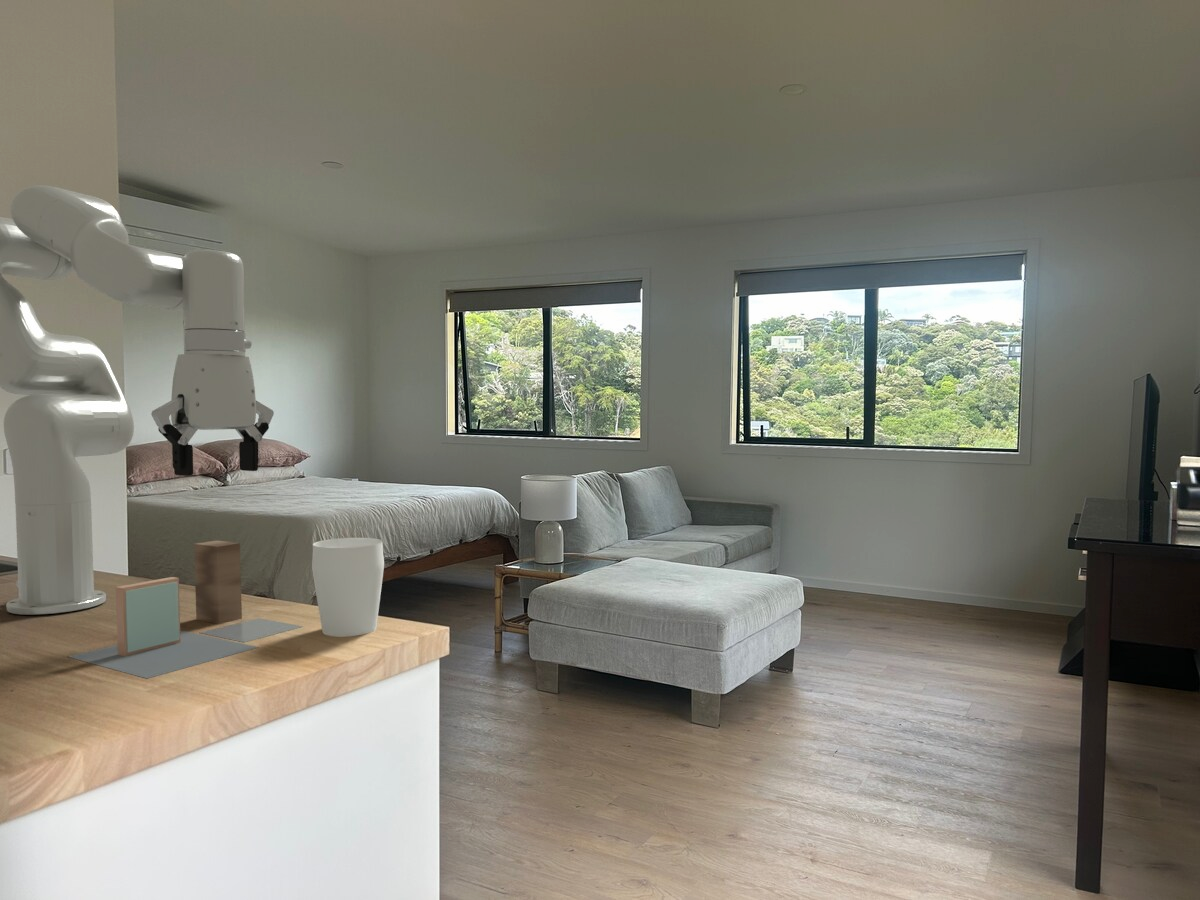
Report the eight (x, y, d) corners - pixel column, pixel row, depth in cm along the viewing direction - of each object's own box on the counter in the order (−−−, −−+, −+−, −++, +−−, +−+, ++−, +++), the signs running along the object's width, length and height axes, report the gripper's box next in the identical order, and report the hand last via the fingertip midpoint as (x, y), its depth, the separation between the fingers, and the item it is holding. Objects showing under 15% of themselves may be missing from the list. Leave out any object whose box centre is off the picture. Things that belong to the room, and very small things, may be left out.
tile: (117, 654, 102) (115, 586, 102) (173, 640, 108) (171, 576, 108) (125, 656, 101) (123, 588, 101) (181, 642, 107) (179, 578, 107)
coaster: (199, 637, 112) (199, 632, 112) (259, 622, 120) (259, 618, 120) (244, 647, 107) (244, 642, 107) (303, 630, 115) (303, 626, 115)
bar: (196, 623, 119) (194, 543, 119) (219, 618, 122) (217, 540, 122) (219, 628, 117) (217, 546, 116) (241, 622, 120) (239, 543, 119)
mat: (67, 661, 101) (67, 656, 101) (179, 634, 113) (179, 629, 113) (147, 683, 93) (147, 678, 93) (259, 652, 105) (259, 647, 105)
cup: (310, 629, 116) (308, 540, 115) (379, 622, 119) (377, 535, 119) (316, 646, 107) (314, 550, 107) (390, 638, 111) (389, 545, 110)
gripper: (253, 349, 126) (255, 467, 127) (135, 342, 111) (138, 475, 112) (287, 348, 122) (289, 470, 123) (169, 340, 107) (172, 478, 108)
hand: (217, 472), depth 117 cm, fingers open, 9 cm apart
